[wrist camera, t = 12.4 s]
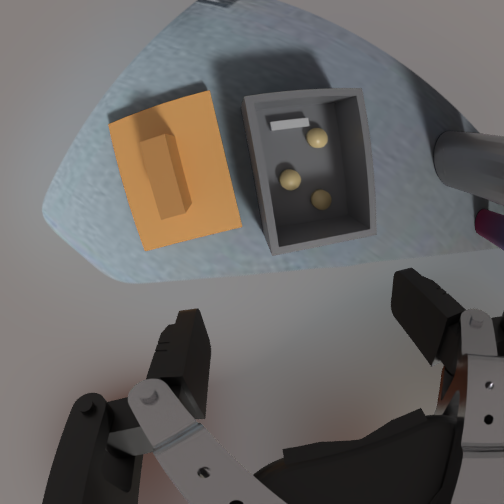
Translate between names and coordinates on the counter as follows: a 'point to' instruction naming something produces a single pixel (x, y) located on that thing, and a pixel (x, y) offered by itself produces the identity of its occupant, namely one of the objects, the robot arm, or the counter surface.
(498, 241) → the cup
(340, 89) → the tub
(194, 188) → the lid
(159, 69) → the counter surface
